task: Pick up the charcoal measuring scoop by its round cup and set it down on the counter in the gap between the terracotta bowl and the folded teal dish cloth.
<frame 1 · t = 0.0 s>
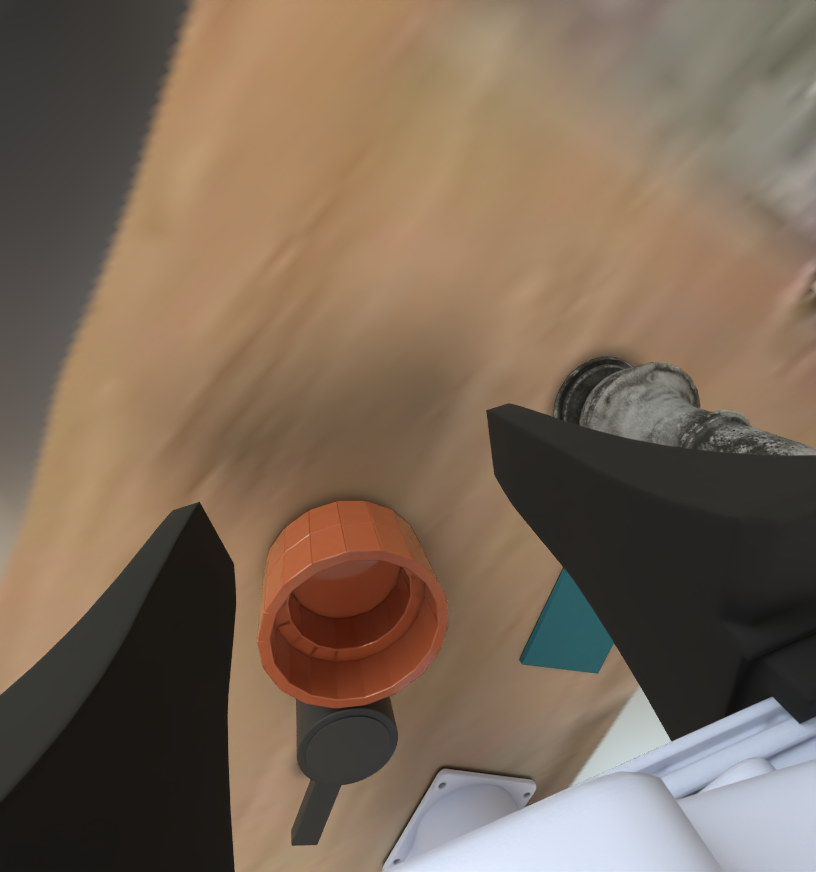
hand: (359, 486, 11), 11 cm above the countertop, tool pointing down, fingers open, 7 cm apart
scoop: (339, 672, 26), on the countertop
grey piece: (596, 405, 25), on the countertop
cloth: (587, 606, 29), on the countertop
bowl: (345, 566, 24), on the countertop
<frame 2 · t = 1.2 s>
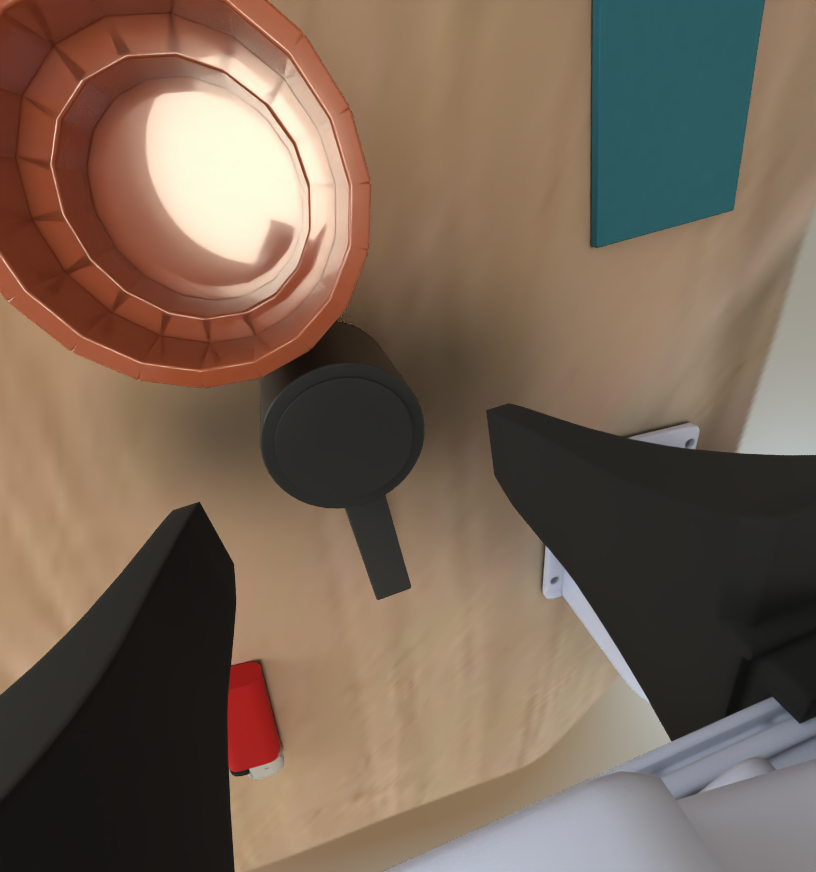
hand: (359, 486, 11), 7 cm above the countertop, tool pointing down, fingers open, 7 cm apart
scoop: (327, 384, 17), on the countertop
cloth: (670, 86, 16), on the countertop
bowl: (204, 198, 14), on the countertop
lighter: (246, 711, 25), on the countertop
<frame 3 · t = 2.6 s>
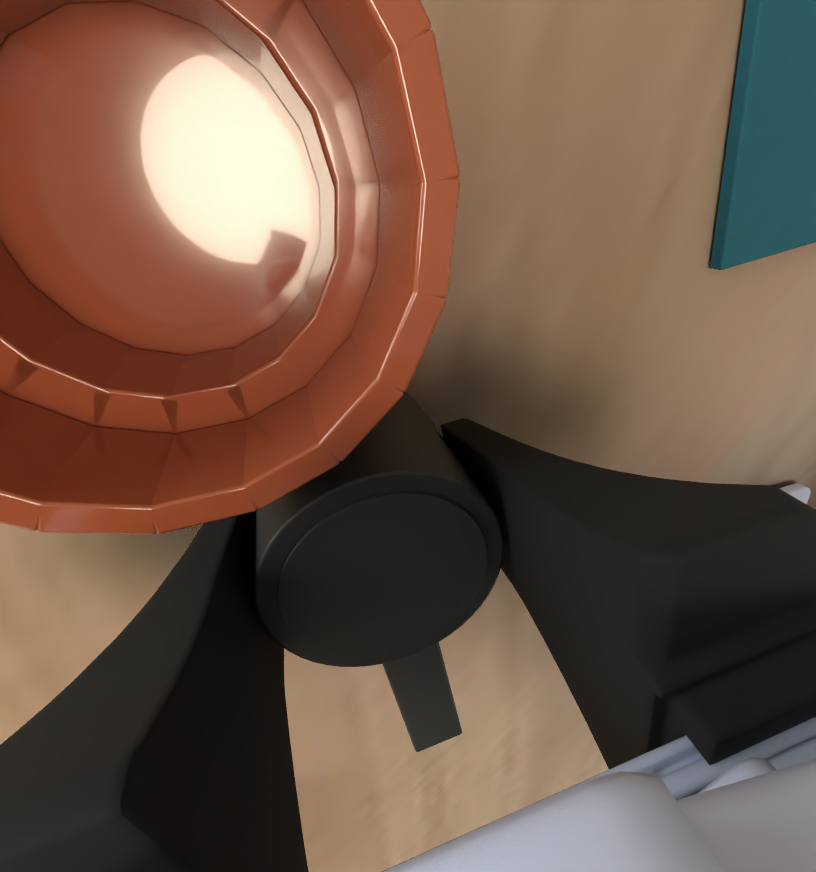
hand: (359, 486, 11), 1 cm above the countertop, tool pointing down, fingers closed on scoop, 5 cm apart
scoop: (348, 458, 13), on the countertop, touching gripper
bowl: (169, 203, 9), on the countertop
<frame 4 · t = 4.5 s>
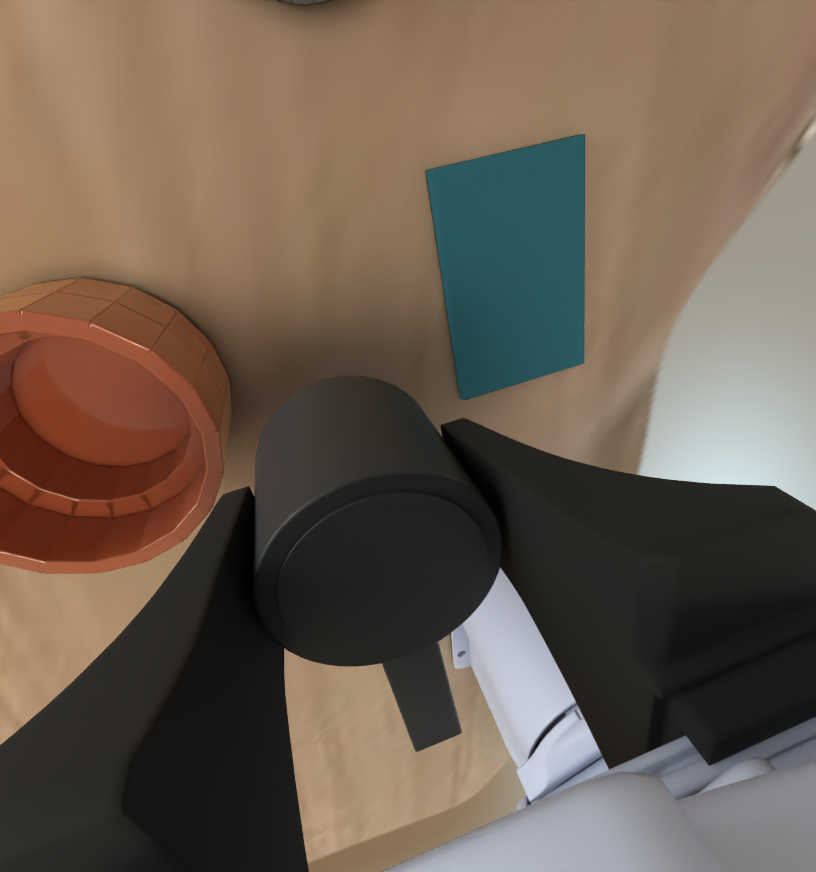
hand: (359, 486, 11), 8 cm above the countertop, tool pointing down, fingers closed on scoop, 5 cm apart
scoop: (348, 458, 13), point 7 cm above the countertop, touching gripper
cloth: (513, 279, 19), on the countertop
bowl: (113, 392, 17), on the countertop
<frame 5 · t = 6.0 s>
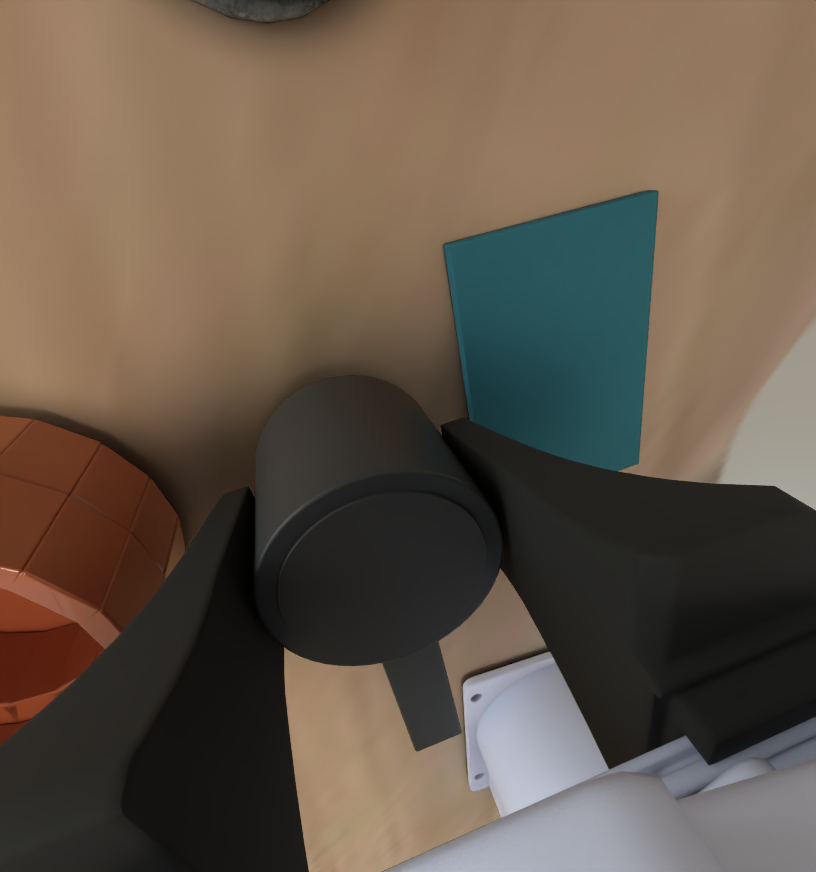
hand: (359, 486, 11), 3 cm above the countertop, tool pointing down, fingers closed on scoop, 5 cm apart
scoop: (348, 457, 13), point 1 cm above the countertop, touching gripper
cloth: (554, 371, 15), on the countertop
bowl: (23, 541, 13), on the countertop
when the fingers open (1 cm above the countertop, at t = 6.9 s): scoop stays where it is, on the countertop.
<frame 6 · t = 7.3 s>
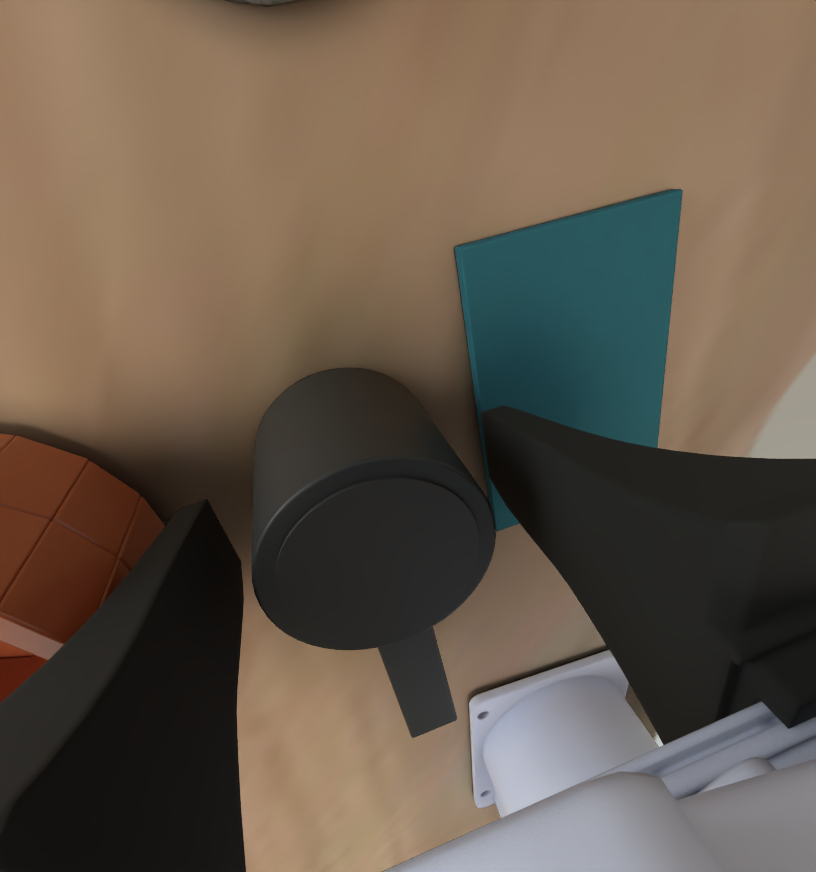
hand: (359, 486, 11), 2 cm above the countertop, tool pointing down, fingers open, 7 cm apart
scoop: (345, 449, 13), on the countertop
cloth: (569, 379, 14), on the countertop
bowl: (6, 562, 12), on the countertop
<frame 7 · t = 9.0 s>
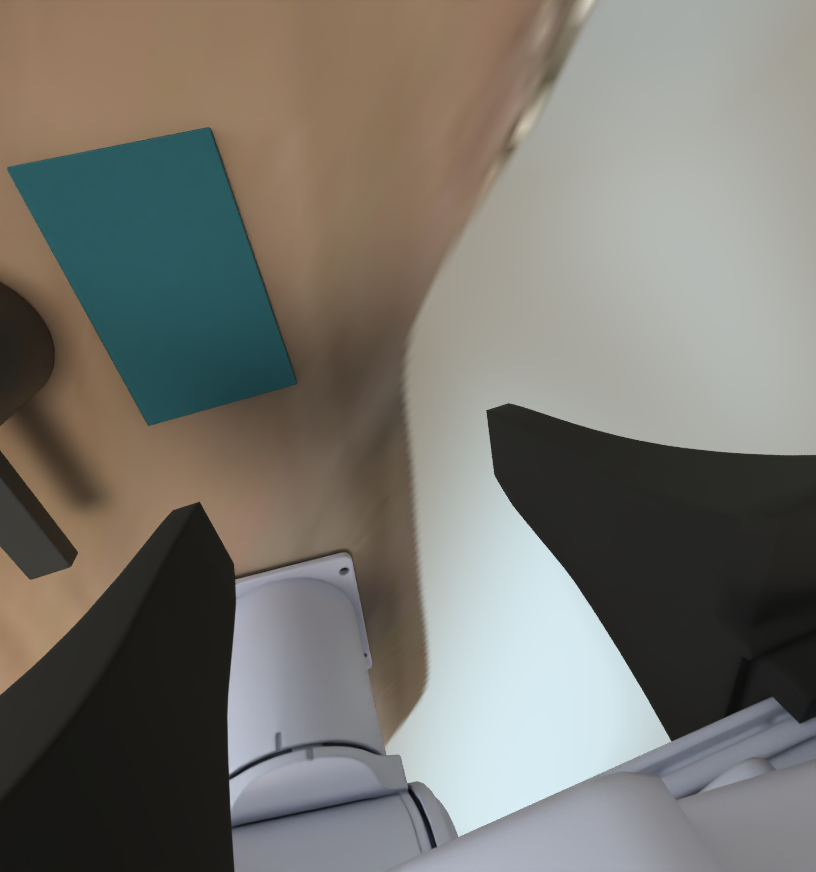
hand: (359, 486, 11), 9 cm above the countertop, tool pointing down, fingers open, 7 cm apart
cloth: (176, 291, 17), on the countertop
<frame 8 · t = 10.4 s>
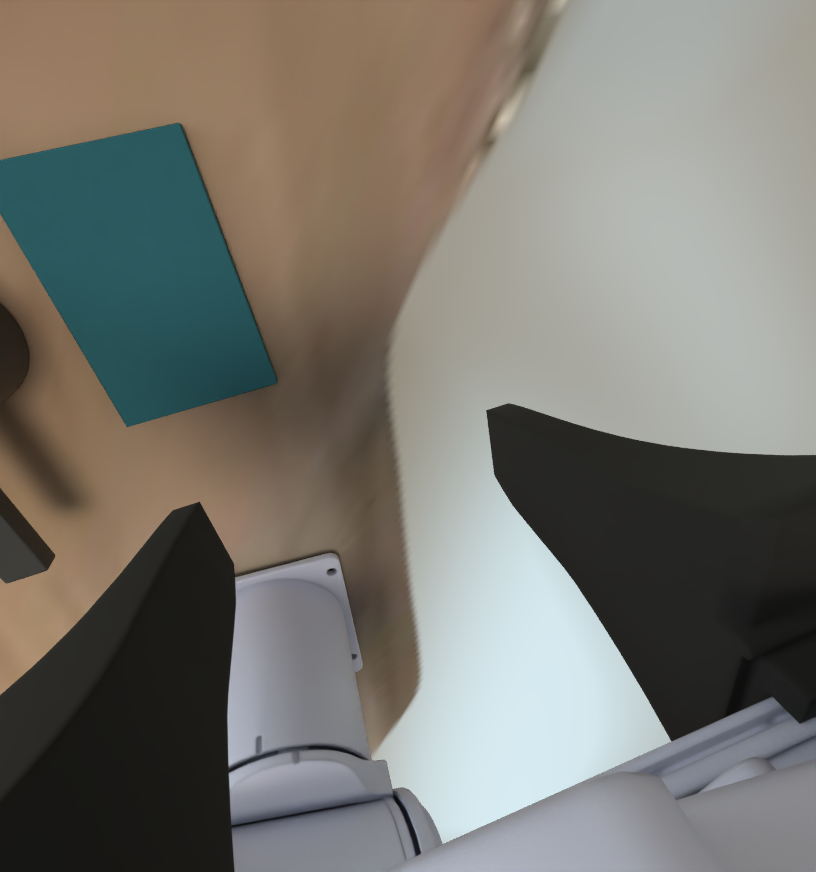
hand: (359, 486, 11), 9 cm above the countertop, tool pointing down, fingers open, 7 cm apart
cloth: (152, 290, 17), on the countertop
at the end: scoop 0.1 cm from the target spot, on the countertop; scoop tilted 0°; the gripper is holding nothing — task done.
